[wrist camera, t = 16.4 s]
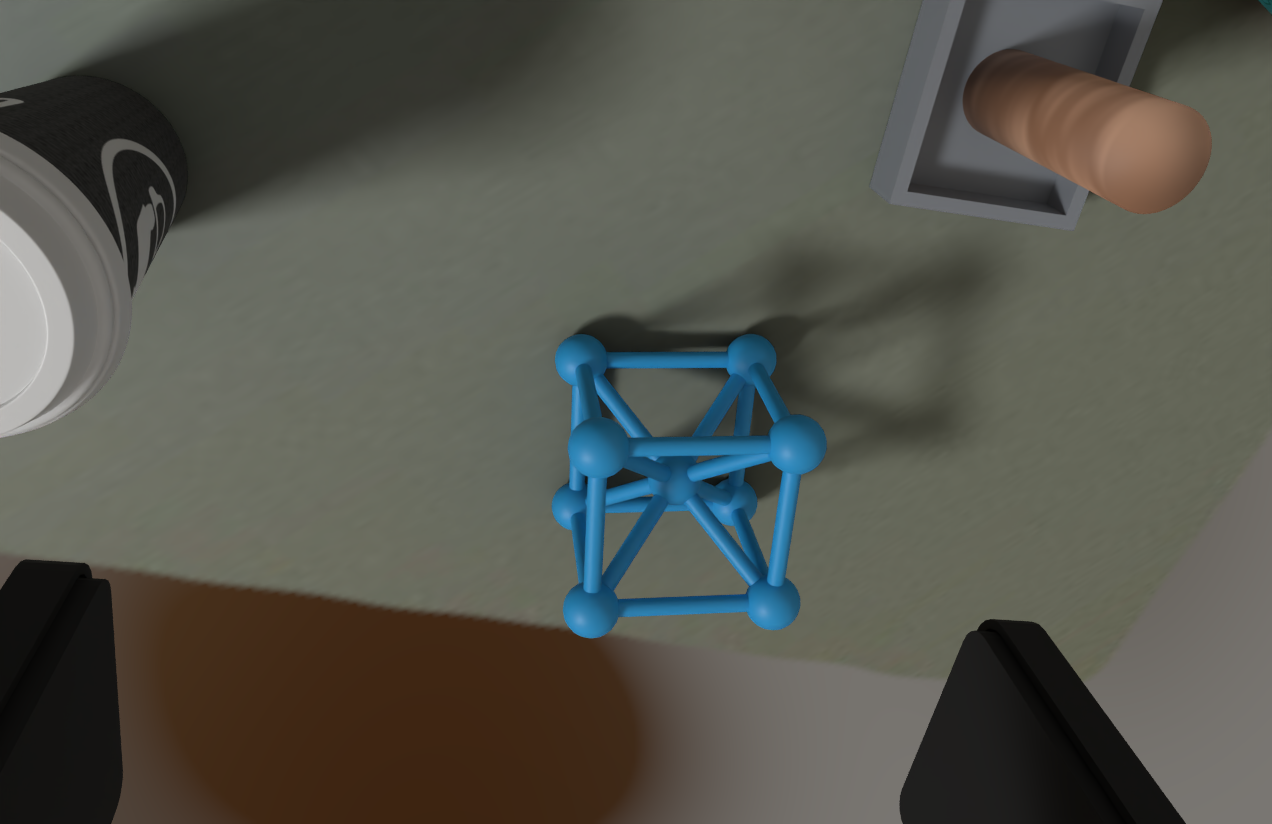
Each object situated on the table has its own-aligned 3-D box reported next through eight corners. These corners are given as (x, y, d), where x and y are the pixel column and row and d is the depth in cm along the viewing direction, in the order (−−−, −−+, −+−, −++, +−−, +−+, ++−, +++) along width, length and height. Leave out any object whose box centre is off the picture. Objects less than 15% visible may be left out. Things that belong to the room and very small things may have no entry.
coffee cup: (156, -2, 37) (-21, 74, 24) (270, 239, 42) (173, 412, 29) (-93, 75, 37) (-405, 192, 24) (48, 307, 42) (-149, 510, 29)
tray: (937, -51, 40) (963, -46, 38) (1128, -12, 42) (1164, -5, 39) (869, 186, 44) (889, 203, 42) (1045, 213, 46) (1073, 231, 44)
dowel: (978, 42, 41) (1132, 96, 31) (1056, 56, 42) (1229, 113, 32) (951, 129, 43) (1089, 206, 33) (1027, 142, 43) (1184, 220, 34)
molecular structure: (772, 325, 47) (838, 432, 38) (748, 508, 51) (803, 640, 43) (553, 325, 45) (571, 436, 37) (549, 513, 50) (564, 651, 41)
